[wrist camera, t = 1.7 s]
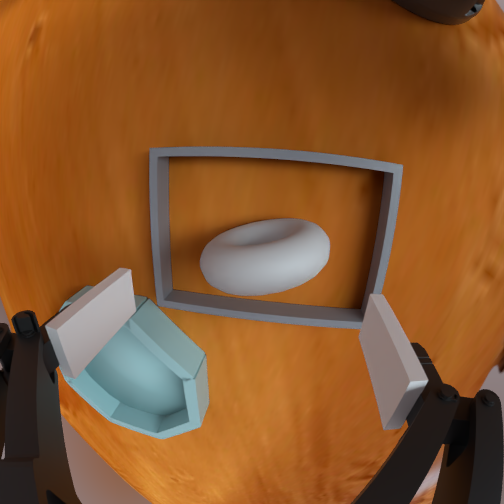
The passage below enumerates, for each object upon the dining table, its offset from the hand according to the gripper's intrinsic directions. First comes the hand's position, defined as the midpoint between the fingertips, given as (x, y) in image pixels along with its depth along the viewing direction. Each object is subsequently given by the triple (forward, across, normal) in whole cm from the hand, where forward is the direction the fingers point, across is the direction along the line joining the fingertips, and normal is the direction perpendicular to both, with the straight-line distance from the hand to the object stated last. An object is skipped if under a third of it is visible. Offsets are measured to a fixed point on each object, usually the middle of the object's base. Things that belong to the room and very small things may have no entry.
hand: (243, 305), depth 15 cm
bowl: (+13, -18, -20) cm, 29 cm away
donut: (+13, 0, 0) cm, 13 cm away
